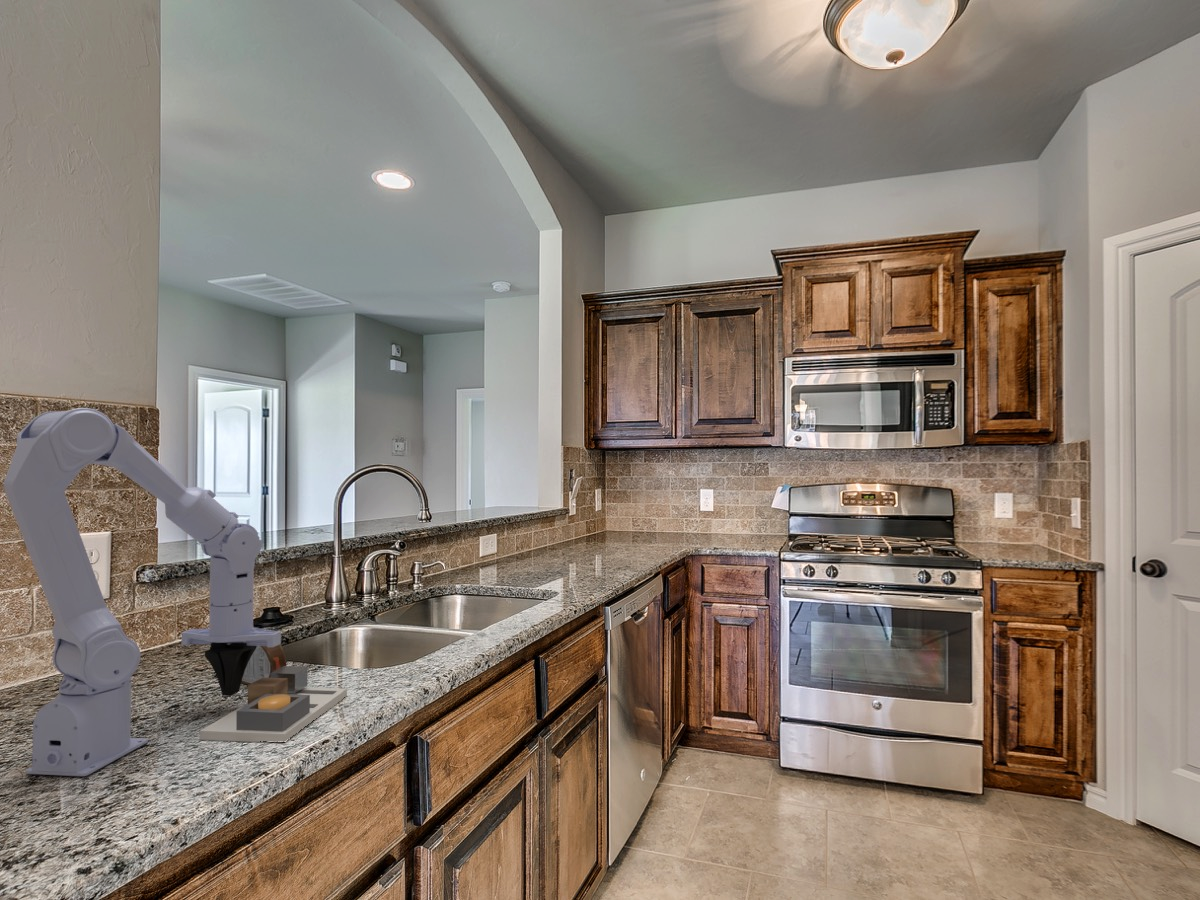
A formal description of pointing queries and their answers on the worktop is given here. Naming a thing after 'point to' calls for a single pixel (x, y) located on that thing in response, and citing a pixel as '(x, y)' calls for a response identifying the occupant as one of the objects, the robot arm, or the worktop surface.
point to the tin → (263, 663)
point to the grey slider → (292, 677)
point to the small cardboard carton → (267, 687)
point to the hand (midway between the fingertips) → (230, 693)
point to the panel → (274, 717)
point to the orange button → (274, 702)
